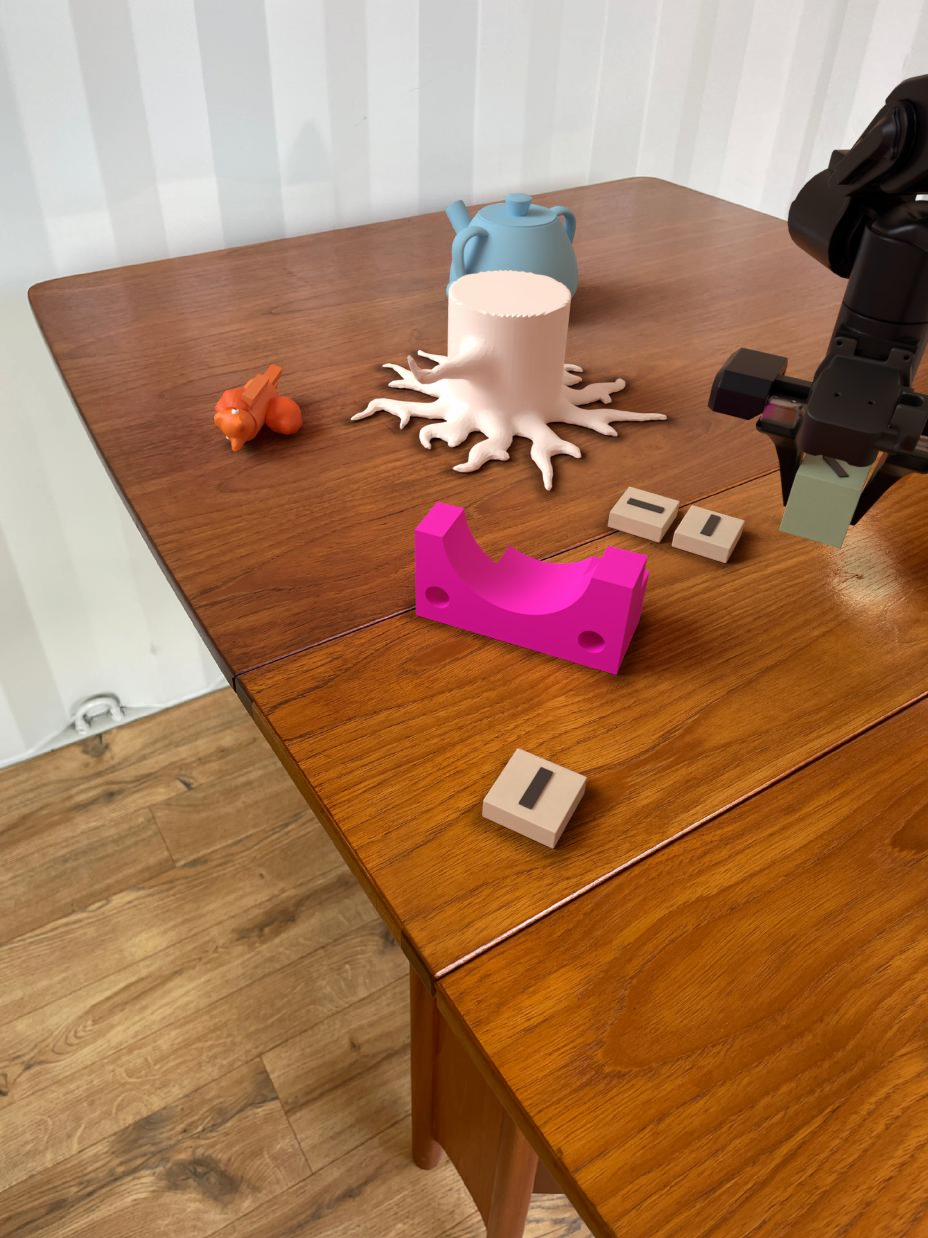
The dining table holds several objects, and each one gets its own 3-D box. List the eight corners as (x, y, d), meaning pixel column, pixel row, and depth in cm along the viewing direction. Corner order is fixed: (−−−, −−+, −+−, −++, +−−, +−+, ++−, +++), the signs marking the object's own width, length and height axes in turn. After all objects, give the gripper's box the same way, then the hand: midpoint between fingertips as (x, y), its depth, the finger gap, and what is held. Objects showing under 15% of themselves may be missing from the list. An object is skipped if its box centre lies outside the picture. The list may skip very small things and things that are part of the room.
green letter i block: (851, 518, 68) (873, 459, 64) (840, 549, 65) (862, 488, 61) (792, 502, 69) (810, 443, 66) (778, 530, 66) (797, 471, 63)
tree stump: (511, 515, 74) (520, 389, 67) (297, 402, 89) (285, 288, 81) (688, 406, 90) (711, 294, 83) (482, 325, 104) (487, 223, 97)
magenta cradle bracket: (639, 619, 65) (656, 535, 60) (616, 674, 60) (632, 588, 55) (450, 567, 69) (451, 484, 64) (415, 614, 64) (414, 529, 60)
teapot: (490, 347, 100) (496, 229, 91) (387, 292, 111) (384, 183, 103) (613, 307, 109) (628, 197, 101) (507, 260, 121) (512, 158, 113)
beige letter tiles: (741, 535, 73) (745, 518, 72) (725, 564, 70) (730, 547, 69) (626, 500, 77) (629, 484, 76) (607, 526, 74) (610, 510, 73)
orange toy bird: (252, 343, 85) (204, 400, 76) (326, 374, 86) (287, 434, 77) (243, 388, 88) (195, 448, 79) (314, 417, 89) (275, 480, 80)
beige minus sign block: (584, 793, 53) (587, 775, 52) (553, 849, 50) (556, 831, 49) (516, 763, 54) (517, 745, 53) (481, 816, 51) (483, 798, 50)
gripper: (708, 318, 54) (664, 530, 64) (1049, 392, 47) (939, 615, 58) (755, 264, 61) (709, 461, 72) (1055, 321, 55) (957, 529, 65)
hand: (819, 513), depth 66 cm, fingers closed on green letter i block, 4 cm apart
